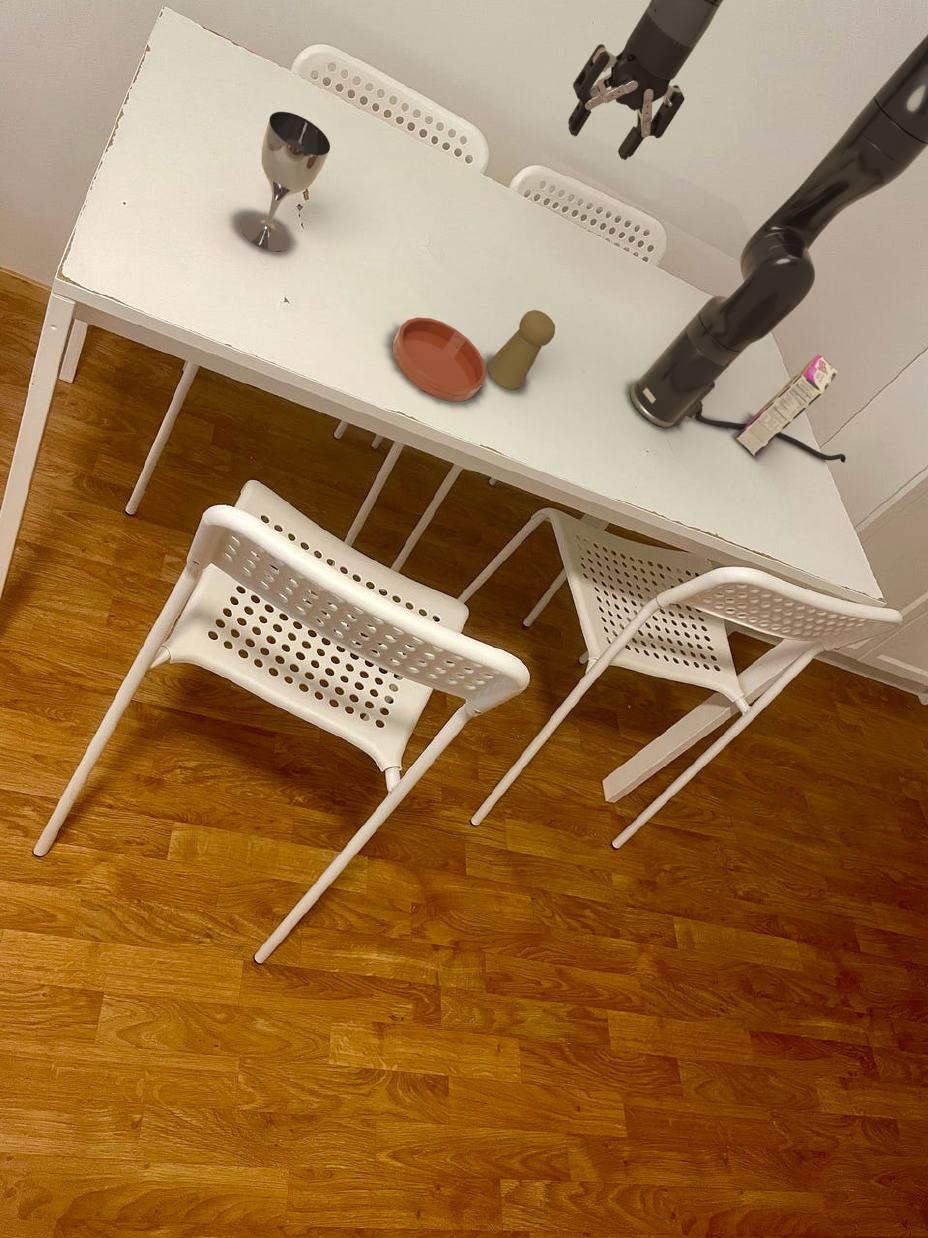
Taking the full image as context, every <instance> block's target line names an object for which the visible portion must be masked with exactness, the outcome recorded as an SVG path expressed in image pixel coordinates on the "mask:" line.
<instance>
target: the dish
mask: <svg viewBox="0 0 928 1238" xmlns="http://www.w3.org/2000/svg"><path fill="white" fill-rule="evenodd" d="M392 353H393V357H394V359H395V362H396V364H397V366H398V368H399V369H400V370H401V372H402V373H403V374H404V376H405V377H406V378H407V379H408V380H409V381H410V382H411V383H412V384H413V385H415V386H416V387H417V388H419V389H421V390H422V391H423V392H425V393H427V394H429V395H431V396H432V397H435V398H436V399H437V398H438V399H441V400H444V401H449V402H463V401H467V400H469V399H471V398H473V397H474V396H475V395H476V394H477V392H478V391H479V390H480V388H481V387H482V385H483V384H484V383H485V380H486V374H487V367H486V365H485V360H484V359H483V356H482V355H481V353H480V351H479V350H478V349H477V347H476V346H475V345H474V344H473V343H472V342H471V340H470V339H469V338H468V337H466V336H465V335H464V334H463V333H461V331H459V330H457V329H456V328H454V327H453V326H451V325H449V324H447V323H445V322H443V321H440V320H437V319H434V318H430V317H419V316H417V317H414V318H411V319H407V320H406V321H405V322H403V324H402V325H400V327H399V329H398V331H397V333H396V334H395V337H394V339H393V341H392Z"/></svg>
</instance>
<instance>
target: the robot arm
mask: <svg viewBox="0 0 928 1238" xmlns="http://www.w3.org/2000/svg"><path fill="white" fill-rule="evenodd" d="M723 2H724V0H650V1H649V4H648V6H647V7H646V9H645V11H643V13H642V15H641V17H640V19H639V20H638V22H637V24H636V25H635V27H634V29H633V31H632V32H631V34H630V36H629V37H628V39H627V41H626V43H625V45H624V48H623V49H622V51H621V52H620V53H619V54H617V55H616V56H615V55H614V54H612V53H611V52H609V50H607V49H606V46H605V44H603V43H600V44H598V45H597V46H596V47H595V49H594V51H593V52H592V53H591V55H590V57H589V58H588V59H587V61H586V63H585V64H584V66H583V68H582V69H581V71H580V72H579V73H578V75H577V77H576V78H575V80H574V82H573V83H572V88H573V90H574V93H575V95H576V98H577V100H578V103H577V104H576V106H575V108H574V109H573V111H572V113H571V114H570V116H569V118H568V120H567V124H568V130H569V131H568V132H569V133H570V135H571V136H573V137H574V138H575V137H577V136H578V135H579V134H580V132H581V130H582V128H583V127H584V126H585V124H586V122H587V120H588V119H589V117H590V115H591V114H592V110H594V109H595V108H596V107H599V106H601V105H602V104H609V103H611V102H612V101H615V102H616V103H617V104H619V105H623V106H627V107H628V108H629V109H630V110H631V111H634V112H636V126H635V125H633V126H632V128H631V129H630V131H629V132H628V133H627V135H626V136H625V138H624V139H623V141H622V142H621V144H620V146H619V147H618V150H617V154H618V156H619V158H620V159H622V160H623V161H627V159H628V158H631V157H632V156H633V155H634V154H635V153H636V151H637V150H638V148H639V147H640V145H641V144H642V142H643V141H644V140H645V138H648V137H654V138H655V139H660V138H662V137H663V136H664V133H665V132H666V130H667V129H668V127H669V125H670V124H671V123H672V121H673V119H674V118H675V116H676V114H677V113H678V111H679V110H680V108H681V106H682V105H683V103H684V101H685V96H684V94H683V91H682V89H681V88H680V86H679V85H678V84H675V85H673V86H672V85H670V83H671V81H672V80H674V79H675V78H676V77H677V75H678V74H679V72H680V71H681V69H682V68H683V66H684V65H685V63H686V62H687V60H688V59H689V57H690V55H691V54H692V53H693V51H694V50H695V48H696V47H697V45H698V44H699V42H700V41H701V39H702V38H703V36H704V35H705V33H706V32H707V30H708V29H709V26H710V25H711V24H712V22H713V19H714V18H715V15H716V14H717V12H718V10H719V8H720V7H721V5H722V4H723ZM609 68H610V73H609V74H608V75H606V76H604V77H602V78H600V79H599V77H600V76H601V75H602V73H606V72H607V70H608V69H609ZM598 79H599V80H598ZM608 88H610V89H608ZM661 98H662V102H661V104H660V106H659V107H658V109H657V112H655V114H654V115H653V103H654V102H657V101H658V100H659V99H660V100H661ZM927 147H928V34H926V35H925V37H924V38H923V39H922V40H921V41H920V42H919V44H917V46H916V47H915V48H914V49H913V50H912V51H911V52H910V53H909V55H907V57H906V58H905V59H904V61H902V62H901V64H900V65H899V67H898V68H896V70H895V71H894V72H893V73H892V74H891V75H890V77H889V78H888V79H887V81H886V82H884V83H883V85H882V86H881V87H880V88H879V89H878V91H877V92H876V93H875V95H874V96H873V97H871V99H870V100H869V101H868V103H866V105H865V106H864V107H863V109H862V110H861V111H860V112H859V113H858V115H856V117H855V119H854V120H853V121H852V122H851V124H850V125H849V126H848V128H847V129H846V130H845V132H843V134H842V136H841V137H840V138H839V139H838V140H837V142H835V144H834V145H833V146H832V147H831V149H830V150H828V152H827V153H826V155H824V157H823V158H822V159H821V160H820V162H819V163H818V164H817V165H816V166H815V168H814V169H813V170H812V171H811V172H810V174H809V175H808V176H807V177H806V179H805V180H804V181H803V182H802V184H801V185H800V186H799V187H798V188H797V189H796V190H795V191H794V192H793V193H792V194H791V196H789V197H788V198H787V199H786V201H784V203H783V204H782V205H780V207H778V209H777V210H776V211H775V212H774V213H773V214H771V216H770V217H769V218H768V219H767V220H766V221H765V222H764V223H763V224H762V225H761V226H760V227H759V228H758V229H757V230H755V232H754V233H753V234H752V235H751V237H750V238H749V239H748V241H747V242H746V244H745V246H744V248H742V249H743V250H742V253H741V255H740V262H739V264H740V271H741V275H742V278H743V283H742V284H740V286H739V287H737V288H736V290H735V291H734V292H733V293H732V294H731V295H729V297H727V296H723V295H715V296H712V297H711V298H710V299H709V300H708V301H706V302H705V304H704V305H703V306H702V307H701V309H699V311H698V312H696V314H695V315H694V316H693V317H692V318H691V319H690V321H689V322H688V323H687V324H686V326H685V327H684V328H683V329H682V330H681V331H680V332H679V334H678V335H677V336H676V337H675V338H674V339H673V340H672V341H671V343H670V344H669V345H668V346H667V347H666V349H665V350H664V351H663V352H662V353H661V354H660V355H659V356H658V357H657V359H656V360H655V361H654V362H653V363H652V364H651V365H650V367H649V368H648V369H647V370H646V371H645V372H644V373H643V375H642V376H641V377H640V379H639V380H637V381H636V382H635V383H634V384H633V385H632V386H631V388H630V390H629V391H630V398H631V401H632V403H633V405H634V406H635V408H636V409H637V411H638V412H639V413H640V414H641V416H643V417H644V418H645V419H646V420H648V421H649V422H650V423H653V425H656V426H659V427H661V428H670V427H672V426H673V425H676V426H678V425H680V423H681V422H682V421H683V420H684V419H685V418H686V417H688V418H693V417H694V416H695V418H696V419H697V420H698V421H699V422H700V423H703V424H705V425H708V426H714V427H722V428H730V429H739V430H743V429H744V428H745V426H746V425H747V424H748V423H741V422H733V421H724V420H723V421H722V420H714V419H708V418H706V417H704V416H703V415H702V413H703V407H704V404H703V402H702V401H703V400H704V399H705V398H706V397H707V396H708V395H709V394H710V392H712V391H713V389H715V387H716V382H715V381H717V379H718V378H719V377H720V376H721V375H722V374H723V373H724V372H725V371H726V370H727V369H728V368H729V367H730V366H731V365H732V363H733V362H734V361H736V360H737V358H738V357H740V355H742V353H743V352H744V351H746V349H747V348H748V347H749V346H750V345H751V344H754V343H756V342H759V341H761V340H762V339H763V338H765V337H766V336H768V334H769V333H771V332H772V331H773V330H774V329H775V328H776V327H777V326H778V325H779V324H780V323H781V322H783V320H784V319H786V318H787V317H788V316H789V315H790V314H791V313H792V312H793V311H794V310H795V309H796V308H797V307H798V306H799V305H801V303H802V302H803V301H804V299H806V297H807V296H808V294H809V293H810V291H811V290H812V288H813V287H814V283H815V281H816V270H815V265H814V263H813V259H812V258H811V254H810V252H809V250H810V248H811V246H812V245H813V244H814V242H815V241H816V240H817V239H818V237H819V236H820V235H821V233H823V231H824V230H825V229H826V228H827V227H828V226H829V224H831V222H833V220H834V219H835V218H836V217H837V216H838V215H840V214H841V213H842V212H843V211H844V210H845V209H846V208H848V207H850V206H852V205H853V204H854V203H856V202H858V201H860V200H862V199H864V198H866V197H868V196H870V195H872V194H873V193H875V192H878V191H879V190H881V189H883V188H885V187H886V186H888V185H890V184H891V183H892V182H894V181H895V180H896V179H898V178H899V177H900V176H901V175H902V174H903V173H904V172H905V171H906V170H907V169H908V168H909V167H910V166H911V164H912V163H914V161H915V160H916V159H917V158H918V157H919V156H920V155H921V154H922V153H923V152H924V150H925V149H927ZM776 437H777V438H779V439H781V440H783V441H786V442H787V443H790V444H792V445H795V446H797V447H799V448H801V449H802V450H804V451H806V452H807V453H810V454H811V455H813V456H815V457H817V458H819V459H822V460H824V461H829V462H830V461H836V460H840V462H842V463H843V464H844V463H845V462H846V459H847V456H846V455H845V454H844V453H837V454H833V455H828V454H824V453H822V452H820V451H818V450H817V449H814V448H812V447H811V446H809V445H807V444H806V443H804V442H802V441H800V440H798V439H797V438H794V437H792V436H790V435H787V434H785V433H783V432H782V431H781V432H780V433H779V434H778V435H777V436H776Z"/></svg>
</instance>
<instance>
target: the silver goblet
mask: <svg viewBox="0 0 928 1238" xmlns="http://www.w3.org/2000/svg"><path fill="white" fill-rule="evenodd" d="M330 150H331V143H330V140H329V138H328V137H327V136H326V134H325V133H324V132H323V131H322V130H321V129H320V128H319V127H318V126H317V125H315V123H313V122H311V121H310V120H308V119H306V118H304V117H303V116H300V115H298V114H296V113H292V112H288V111H276V112H273V113H271V114H270V117H269V119H268V121H267V124H266V128H265V131H264V135H263V138H262V145H261V166H262V169H263V170H262V171H263V172H264V174H265V177H266V179H267V181H268V184H269V186H270V189H271V190H270V191H271V202H270V207H269V210H268V214H267V217H266V216H264V215H259V214H246V215H243V216H242V217H241V218H240V219H239V222H238V226H239V227H238V228H239V230H240V231H241V233H242V235H243V236H244V237H245V238H246V239H247V240H248V241H249V242H250V243H251V244H254V245H255V246H257V247H259V248H261V249H263V250H266V251H270V252H278V253H279V252H283V251H286V250H287V249H288V248H289V247H290V241H291V240H290V237H289V234H288V233H287V232H286V230H285V229H284V228H283V227H282V226H281V225H279V224H278V223H277V222H275V221H274V218H275V215H276V213H277V211H278V208H279V207H280V205H281V203H282V202H283V201H284V200H285V199H286V198H288V197H289V196H293V195H295V194H297V193H301V192H303V191H305V190H307V189H309V188H310V187H311V186H312V185H313V183H314V182H315V181H316V179H317V178H318V176H319V175H320V173H321V172H322V169H324V168H323V167H324V165H325V163H326V161H327V159H328V156H329V153H330Z"/></svg>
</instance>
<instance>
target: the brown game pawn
mask: <svg viewBox="0 0 928 1238" xmlns="http://www.w3.org/2000/svg"><path fill="white" fill-rule="evenodd" d="M555 334H556V325H555V323H554V321H553V320H552V318H551V317H550V316H549V315H548V314H546V313H545V312H543V311H541V310H537V309H532V310H529V311H527V312H526V313H524V315H523V316H522V318H521V319H520V321H519V325H518V330H516V331H515V333H514V334H513V335H512V336H511V337H510V338H509V339H508V340H507V341H506V342H505V343H504V344H503V346H502V347H501V348H500V349H499V350H498V351H497V352H496V353H495V354H494V356H493V357H492V358H491V359H490V360H489V361H488V363H487V365H486V370H487V373H488V374H489V376H490V377H491V379H492V380H493V381H494V382H495V383H497V384H498V385H499V386H500V387H502V388H505V389H508V390H511V391H516V390H518V389H520V388H521V387H522V385H523V383H524V381H525V379H526V378H527V375H528V374H529V372H530V371H531V368H532V366H533V364H534V363H535V361H536V359H537V357H538V355H539V353H540V351H541V349H542V348H543V347H545V346H547V345H548V344H549V343H550V342H551V341H552V340H553V338H554V337H555Z"/></svg>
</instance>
